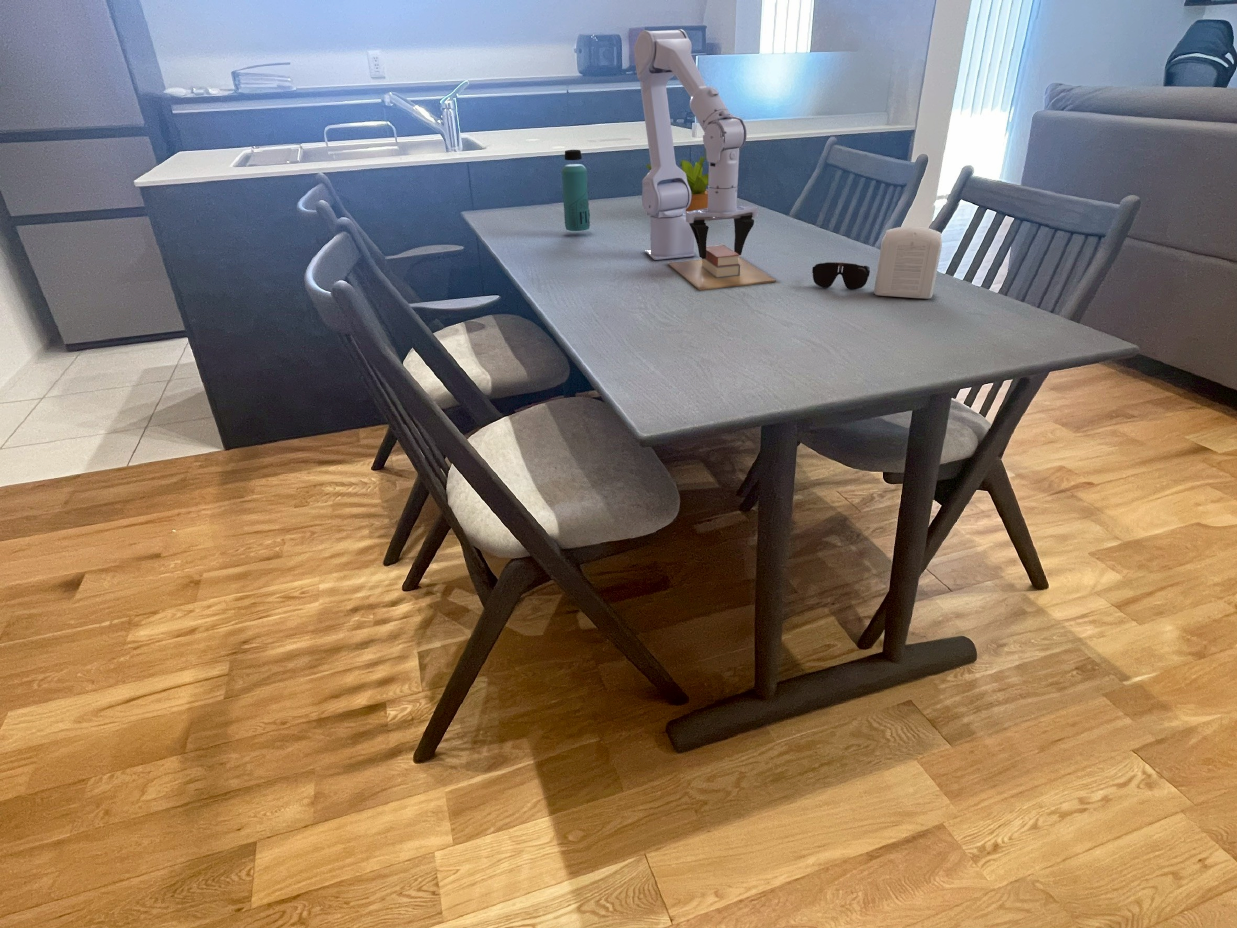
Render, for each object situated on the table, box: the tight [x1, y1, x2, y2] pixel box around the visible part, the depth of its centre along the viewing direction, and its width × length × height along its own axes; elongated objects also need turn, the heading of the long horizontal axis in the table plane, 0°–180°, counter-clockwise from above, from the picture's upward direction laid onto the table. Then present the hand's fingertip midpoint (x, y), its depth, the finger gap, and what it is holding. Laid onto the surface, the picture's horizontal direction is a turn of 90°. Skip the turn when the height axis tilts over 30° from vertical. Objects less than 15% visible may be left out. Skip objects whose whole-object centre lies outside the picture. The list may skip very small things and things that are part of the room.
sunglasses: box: [811, 261, 871, 291], centre depth 145 cm, size 10×12×5 cm
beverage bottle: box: [560, 149, 591, 232], centre depth 183 cm, size 6×7×20 cm
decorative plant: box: [645, 147, 709, 211], centre depth 199 cm, size 27×24×25 cm
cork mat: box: [668, 256, 777, 291], centre depth 153 cm, size 16×20×1 cm
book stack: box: [701, 244, 740, 278], centre depth 152 cm, size 5×9×4 cm, turn 14°
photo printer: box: [873, 225, 943, 300], centre depth 133 cm, size 10×4×12 cm, turn 72°
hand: (720, 256), depth 152 cm, fingers open, 7 cm apart
